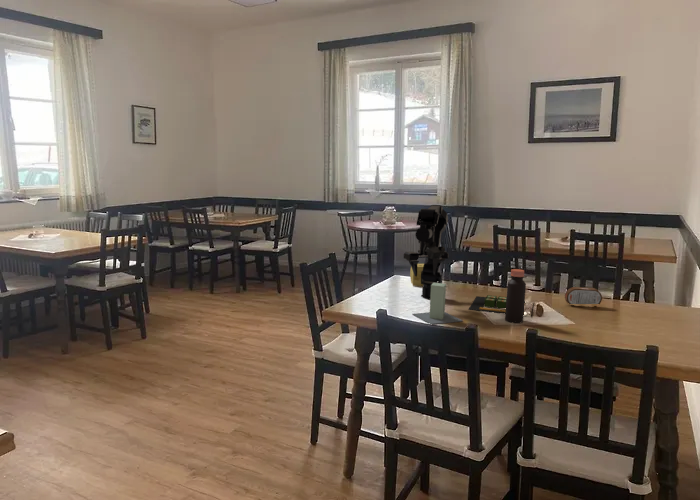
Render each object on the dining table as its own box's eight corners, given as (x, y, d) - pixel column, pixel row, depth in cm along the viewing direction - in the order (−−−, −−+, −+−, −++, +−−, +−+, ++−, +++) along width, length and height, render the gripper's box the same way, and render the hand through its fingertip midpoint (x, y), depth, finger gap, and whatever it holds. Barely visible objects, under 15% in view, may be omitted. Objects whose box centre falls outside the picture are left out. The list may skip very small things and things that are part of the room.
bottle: (524, 323, 204) (528, 272, 201) (505, 322, 205) (509, 271, 202) (522, 319, 210) (525, 269, 207) (504, 317, 212) (507, 268, 209)
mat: (442, 311, 218) (442, 310, 218) (462, 321, 205) (462, 320, 205) (412, 314, 212) (412, 313, 212) (431, 324, 200) (431, 323, 200)
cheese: (433, 287, 263) (434, 267, 261) (411, 286, 263) (412, 266, 261) (430, 282, 273) (431, 263, 271) (409, 281, 273) (410, 262, 271)
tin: (599, 306, 233) (601, 287, 232) (602, 308, 230) (603, 289, 229) (563, 304, 234) (565, 286, 233) (565, 306, 231) (567, 287, 230)
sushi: (468, 311, 222) (468, 302, 222) (476, 298, 245) (476, 290, 245) (531, 318, 214) (532, 309, 213) (533, 304, 237) (534, 295, 236)
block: (431, 314, 212) (433, 282, 210) (444, 316, 210) (446, 283, 208) (429, 317, 207) (431, 285, 205) (442, 319, 206) (444, 286, 204)
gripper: (417, 242, 212) (415, 280, 214) (456, 240, 219) (454, 278, 222) (403, 238, 222) (402, 275, 224) (442, 237, 229) (440, 272, 232)
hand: (425, 275), depth 225 cm, fingers open, 9 cm apart
